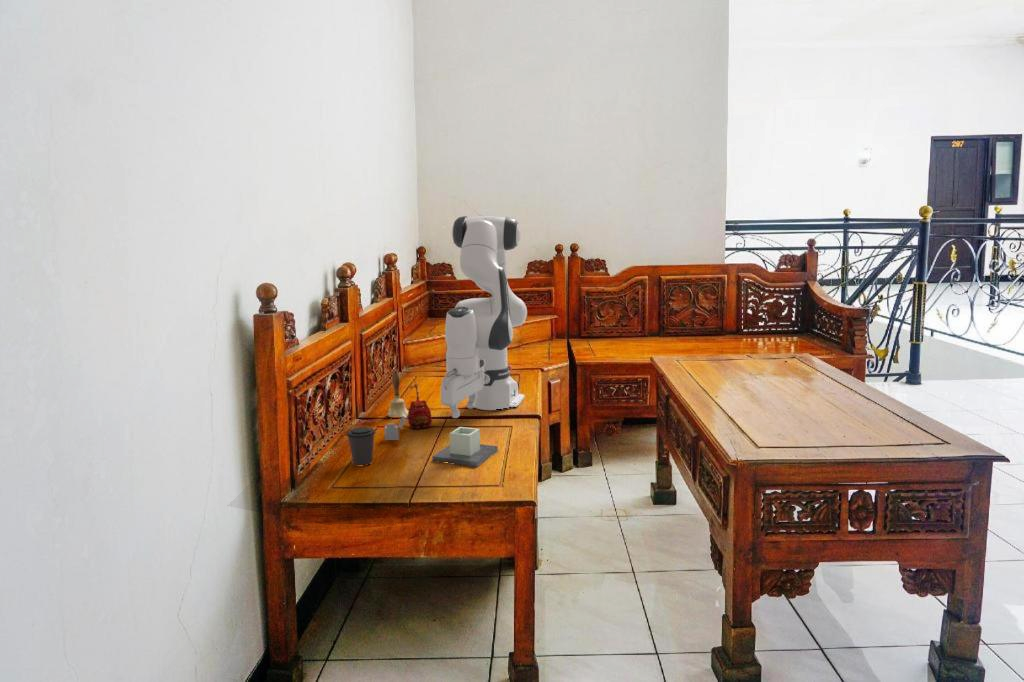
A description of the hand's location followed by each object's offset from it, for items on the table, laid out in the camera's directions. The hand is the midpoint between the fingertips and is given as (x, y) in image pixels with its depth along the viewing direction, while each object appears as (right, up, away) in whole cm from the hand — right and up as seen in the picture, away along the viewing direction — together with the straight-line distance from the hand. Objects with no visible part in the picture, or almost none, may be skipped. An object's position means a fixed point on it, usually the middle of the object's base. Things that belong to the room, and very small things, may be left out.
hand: (463, 412), depth 206 cm
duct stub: (0, -13, +2) cm, 13 cm away
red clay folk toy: (-16, -8, +31) cm, 36 cm away
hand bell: (-26, -6, +44) cm, 52 cm away
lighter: (-22, -10, +18) cm, 30 cm away
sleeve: (0, -11, +2) cm, 11 cm away
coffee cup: (-29, -14, -1) cm, 32 cm away
